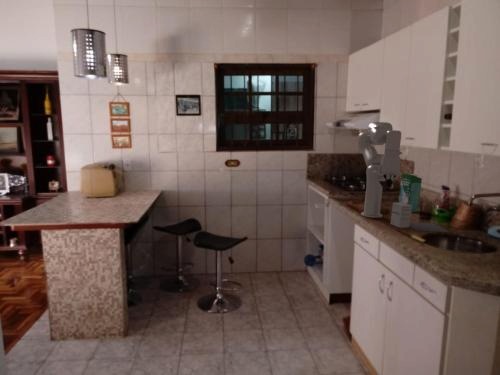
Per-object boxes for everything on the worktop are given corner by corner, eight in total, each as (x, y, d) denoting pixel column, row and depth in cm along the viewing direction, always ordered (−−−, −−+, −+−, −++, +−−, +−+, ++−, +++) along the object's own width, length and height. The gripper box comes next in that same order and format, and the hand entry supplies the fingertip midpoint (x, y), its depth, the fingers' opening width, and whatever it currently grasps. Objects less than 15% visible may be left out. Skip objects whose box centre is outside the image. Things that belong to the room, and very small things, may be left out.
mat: (402, 222, 211) (402, 221, 211) (433, 224, 211) (433, 223, 211) (415, 230, 194) (415, 230, 194) (449, 232, 193) (449, 231, 193)
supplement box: (389, 224, 205) (392, 202, 203) (400, 224, 207) (403, 202, 205) (398, 227, 198) (401, 205, 196) (409, 227, 200) (412, 205, 198)
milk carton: (417, 211, 245) (422, 174, 241) (407, 212, 242) (412, 174, 238) (407, 208, 253) (411, 173, 250) (397, 209, 250) (401, 173, 246)
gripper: (402, 153, 200) (399, 186, 203) (375, 152, 200) (372, 185, 203) (408, 154, 193) (404, 188, 195) (380, 153, 193) (376, 187, 196)
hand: (388, 186), depth 199 cm, fingers closed
